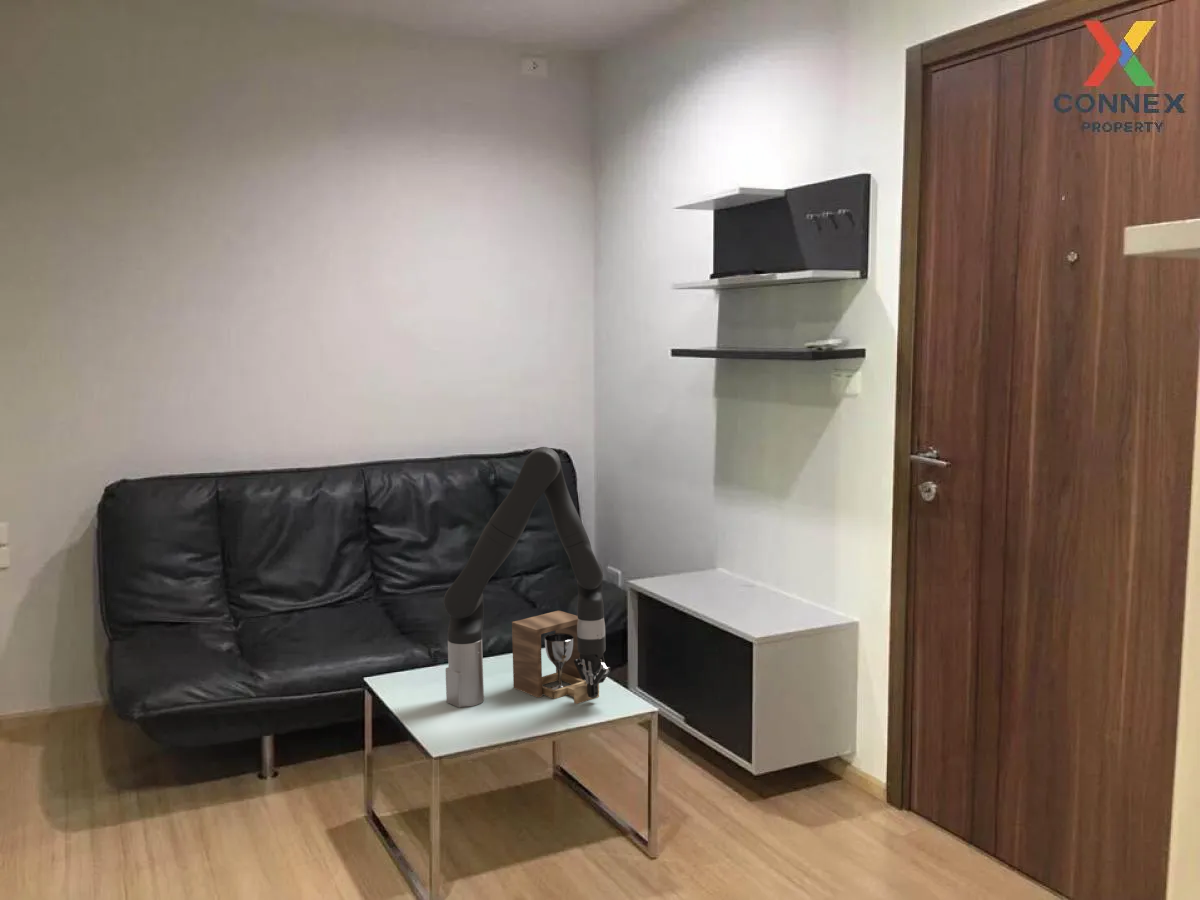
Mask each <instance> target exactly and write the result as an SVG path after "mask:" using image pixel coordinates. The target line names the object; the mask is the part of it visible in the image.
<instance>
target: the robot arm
mask: <svg viewBox="0 0 1200 900" xmlns="http://www.w3.org/2000/svg"><path fill="white" fill-rule="evenodd" d="M566 482H567V481H566V479H565V476H564V471H563V467H562V463H561V458H560V456H559V454H558V453H557V452H556V451H555V450H554V449H552V448H551V447H547V446H539V447H536V448H535V449H533V450H532V451H531V452H530V453H529V454H527V456H526V458H525V460H524V462H523V465H522V467H521V469H520V471H519V474H518V476H517V478H516V480H515V482H514V484H513V486H512V488H511V489H510V491H509V493H508V494H507V496H506V497H505V498H504V499H503V500H502V502H501V503H500V504H499V505H498V507H497V508H496V510H494V513H493V514H492V516H490V518H489V520H488V522H487V523H486V525H485V527H484V529H483V531H482V532H481V534H480V536H479V538H478V539H477V542H476V543H475V546H474V547H473V550H472V551H471V554H470V557H469V559H468V561H467V562H466V564H465V566H464V568H463V569H462V570H461V572H460V573H459V575H458V576H457V577H456V579H455V580H454V581H453V583H452V584H451V586H450V587H448V589H447V590H446V591H445V594H444V596H443V607H444V609H445V612H446V613H447V614H448V616H449V622H448V623H449V624H448V627H447V660H448V661H447V662H448V664H447V665H448V667H446V668H445V686H446V687H445V692H446V703H448V704H450V705H453V706H454V707H456V708H458V709H459V708H464V707H473V706H477V705H480V704H482V703H483V702H484V700H485V693H484V692H485V689H484V686H485V685H484V665H483V664H484V657H483V628H484V594H483V593H484V591H485V588H486V587H487V585H488V583H489V581H490V579H491V578H492V576H494V574H495V573H496V572H497V570H498V569H499V568H500V567H501V566H502V564H503V563H504V562H505V560H506V559H508V556H509V555H510V554H511V552H512V551H513V549H515V546H516V545H517V543H518V542H519V540H520V538H521V537H522V534H523V532H524V530H525V528H526V526H527V524H528V522H529V520H530V517H531V514H532V512H533V510H534V507H535V506H536V504H537V502H538V501H539V500H540V498H541V497H542V495H543V494H544V496H545V499H546V501H547V503H548V506H549V508H550V513H551V517H552V520H553V523H554V526H555V531H556V532H557V534H558V537H559V540H560V542H561V544H562V546H563V549H564V551H565V552H566V555H567V556H568V559H569V562H570V565H571V568H572V572H573V574H574V577H575V579H576V581H577V583H576V584H577V594H578V595H577V605H576V606H577V607H576V609H577V616H578V621H577V646H578V652H579V653H580V655H579V656H580V657H579V658H578V659H575V660H574V663H575V666H576V668H577V670H578V672H579V674H580V676H581V678H582V680H585V681H586V683H587V693H588V697H590V698H593V699H596V698H598V697H597V696H598V683H599V684H601V683H604V682H605V680H606V678H607V677H608V675H609V674H610V672H611V671H612V670H611V667H610V666H607V665H606V663H605V658H604V657H605V656H604V653H605V652H606V644H607V643H606V623H605V611H604V610H605V609H604V608H605V607H604V606H605V605H604V601H603V599H604V598H603V579H604V573H603V571H604V570H603V567H602V564H601V563H600V562H599V561H598V560H597V558H596V556H595V553H594V551H593V550H592V545H591V541H590V537H589V535H588V533H587V531H586V529H585V526H584V524H583V522H582V520H581V517H580V516H579V513H578V511H577V508H576V507H575V505H574V502H573V499H572V497H571V495H570V491H569V488H568V486H567V483H566ZM583 672H584V673H583ZM595 697H596V698H595Z"/></svg>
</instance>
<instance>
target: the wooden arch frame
mask: <svg viewBox="0 0 1200 900" xmlns="http://www.w3.org/2000/svg"><path fill="white" fill-rule="evenodd" d="M577 621H578V615H577V614H573V613H569V612H566V611H562V610H555V611H551V612H547V613H544V614H543V613H542V614H539V615H534V616H531V617H527V618H523V619H518V620H515V621H511V636H512V637H511V638H512V671H513V672H512V676H513V677H512V678H513V681H512V683H513V689H515V690H518V691H520V692H523V693H525V694H527V695H530V696H533V697H535V698H541V697H543V694H542V677H543V669H542V668H543V667H542V665H543V664H542V661H543V660H542V659H543V658H542V635H543V634H546V633H552V632H554V634H555V633H566V634H570V635H572V636H573V640H574V643H573V652H572V656H571V658H570V659H569V661H568V662H567V663H566V664H565V666H564V667H563V670H562V673H565V674H568V675H571V676H573V677H576V678H579V679H582V678H581V676H580V674H579V672H578V670H577V668H576V666H575V663H574V660H575V659H578V658H579V657H580V656H579V655H580V653H579V652H578V646H577ZM556 672H558V671H557V668H556V667H555V673H556ZM583 673H584V672H583ZM584 681H585V680H584Z"/></svg>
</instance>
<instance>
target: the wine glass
mask: <svg viewBox="0 0 1200 900" xmlns="http://www.w3.org/2000/svg"><path fill="white" fill-rule="evenodd" d="M573 643H574V640H573V636H572V635H570V634H566V633H555V632H554V633H550V634H547V635H546V636H544V647H545V654H546V656H547V658H548V660H549V661H550V662H551V664H553V665H554V666H555V669H556V668H557V671H558V678H559V680H558V684H557V685H552V686H550V687H548V688H550V689H553V690H556V689H560V688H563V687H566V686H568V685H566V684H564V685H563V684H562V683H563V682H562V681H561V677H562V670H563V667H564V666H565V664H566V663H567V662H568V661H569V659H570V658H571V656H572V652H573Z"/></svg>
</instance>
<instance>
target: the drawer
mask: <svg viewBox="0 0 1200 900" xmlns="http://www.w3.org/2000/svg"><path fill="white" fill-rule="evenodd" d="M557 681H559V678H558V672H556V671H555V672H554V673H551V674H547V675H542V696H546V697H548V698H551V699H553V700H555V699H559V698H562V697H565V696H570V697H572V698H573V703H574V704H577V705H578V704H582V703H584V702H586V701H591V700H593V699H597V698H598V697H600V683H598V696H597V697H595V698H590V697H588V693H587V683H586V681H584V680H582V679H579V678H576V677H573V676H571V675H568V674H565V673H562V677H561V682H564V683H567V684H569V685H567V686H566V687H563V688H560V689H556V690H553V689H550V688H549V687H548V686H545V685H548V684H551V683H554V682H557Z"/></svg>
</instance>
